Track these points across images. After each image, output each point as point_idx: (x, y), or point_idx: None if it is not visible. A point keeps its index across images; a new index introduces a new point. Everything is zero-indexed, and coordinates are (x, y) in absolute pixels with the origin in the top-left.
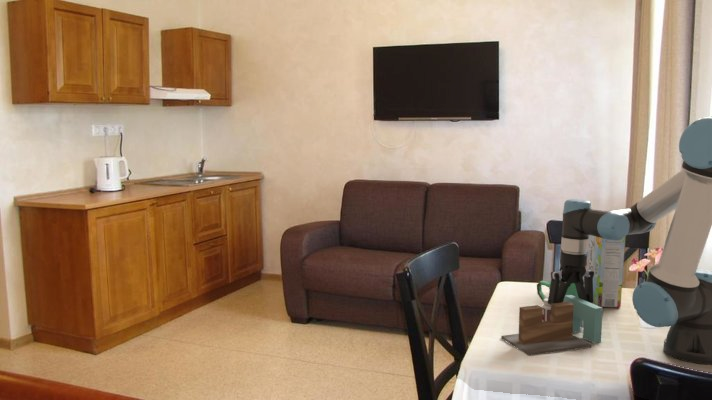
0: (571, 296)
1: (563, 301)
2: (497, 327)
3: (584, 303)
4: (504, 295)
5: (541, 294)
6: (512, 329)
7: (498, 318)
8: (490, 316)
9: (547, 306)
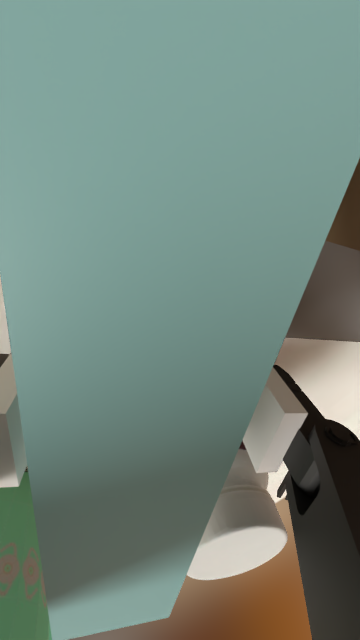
0: (110, 603)
1: (10, 562)
2: (352, 427)
3: (292, 212)
4: None
5: (49, 622)
6: (336, 401)
7: (273, 485)
8: (277, 499)
9: (262, 487)
